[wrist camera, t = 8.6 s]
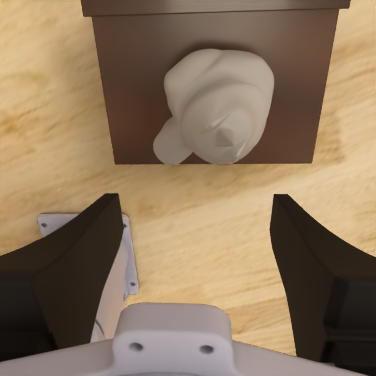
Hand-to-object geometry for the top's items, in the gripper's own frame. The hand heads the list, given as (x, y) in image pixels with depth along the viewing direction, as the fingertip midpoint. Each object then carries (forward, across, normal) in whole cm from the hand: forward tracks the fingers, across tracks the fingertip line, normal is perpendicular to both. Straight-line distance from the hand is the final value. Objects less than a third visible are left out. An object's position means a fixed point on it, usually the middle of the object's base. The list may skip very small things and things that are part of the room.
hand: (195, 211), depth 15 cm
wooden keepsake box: (+10, -1, -4) cm, 11 cm away
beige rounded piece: (+6, -1, -4) cm, 7 cm away
